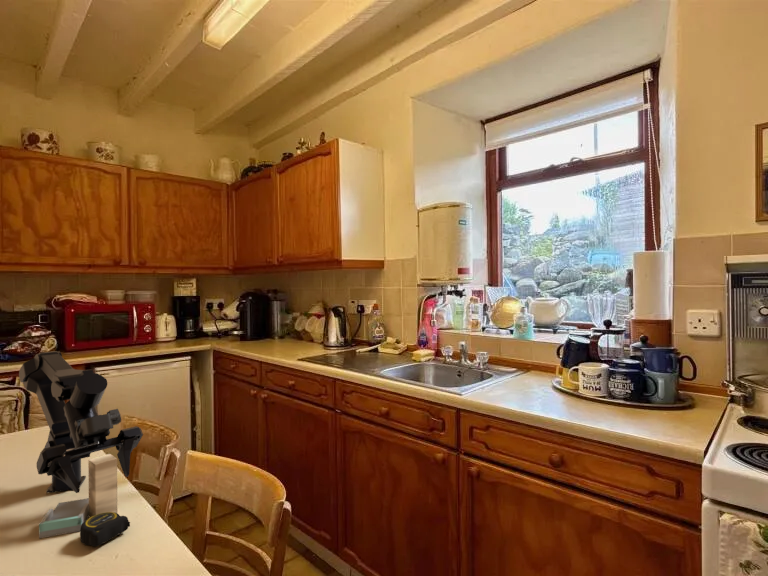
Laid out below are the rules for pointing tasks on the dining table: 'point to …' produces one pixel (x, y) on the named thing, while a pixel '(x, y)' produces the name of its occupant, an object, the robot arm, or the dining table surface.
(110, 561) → the dining table surface
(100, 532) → the tape measure
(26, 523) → the dining table surface
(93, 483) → the beech post
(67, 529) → the grey shallow tray
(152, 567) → the dining table surface
